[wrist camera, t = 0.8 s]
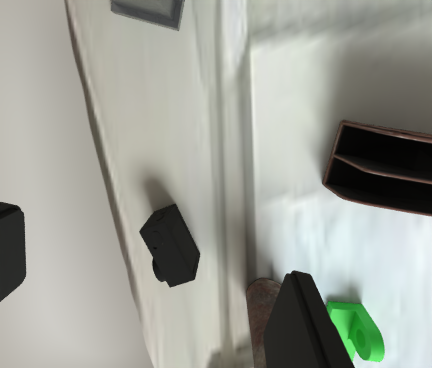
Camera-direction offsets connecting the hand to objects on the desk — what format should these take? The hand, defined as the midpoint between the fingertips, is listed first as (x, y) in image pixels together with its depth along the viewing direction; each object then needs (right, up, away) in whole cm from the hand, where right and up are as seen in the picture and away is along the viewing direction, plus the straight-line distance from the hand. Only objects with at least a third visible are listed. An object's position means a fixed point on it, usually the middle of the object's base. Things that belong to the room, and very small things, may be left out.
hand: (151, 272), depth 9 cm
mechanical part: (+25, -24, +38) cm, 51 cm away
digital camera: (-5, -6, +34) cm, 35 cm away
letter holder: (+29, +6, +28) cm, 41 cm away
